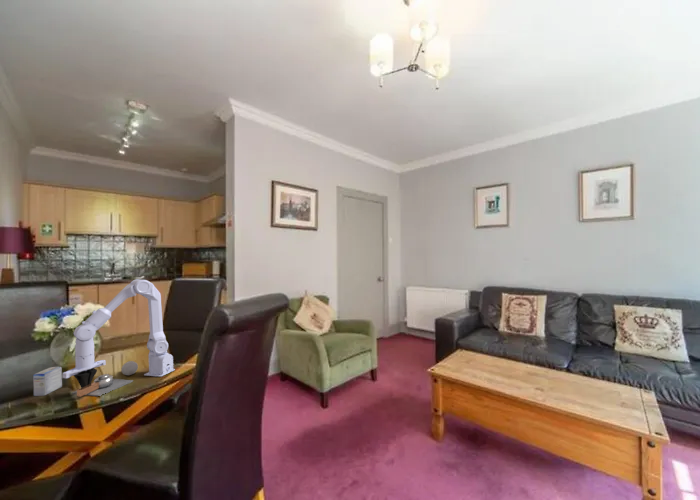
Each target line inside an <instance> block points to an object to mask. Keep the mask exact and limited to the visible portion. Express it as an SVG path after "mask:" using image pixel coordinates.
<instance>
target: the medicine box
mask: <svg viewBox="0 0 700 500" xmlns="http://www.w3.org/2000/svg"><path fill="white" fill-rule="evenodd" d="M32 377H33V396H35V397H39V396H40V397H41V396H42V397H43V396H47V395H48V394H50V393H53V392H54V391H56V390H58V389H60V388H62V387H63V371H62V367H61V366H50V367H48V368H45V369H43V370H41V371H38V372H36V373H34V374H33V375H32Z"/></svg>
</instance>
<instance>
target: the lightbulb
mask: <svg viewBox="0 0 700 500" xmlns="http://www.w3.org/2000/svg"><path fill="white" fill-rule="evenodd" d="M138 369H139V365H138V363H137V362H136V361H133V360H130V361H127V362H125V363H124V364H123V365H122V366H121V373H122V374H123V375H124V376H132V375H134V374H135V373H136V372H137V370H138Z"/></svg>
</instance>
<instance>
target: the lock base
mask: <svg viewBox="0 0 700 500" xmlns="http://www.w3.org/2000/svg"><path fill="white" fill-rule="evenodd" d="M133 382H134V380H133V379H132V380H131V379H130V380H129V379H123V378H122V379H121V378H113V384H111V385H109V386H107V387H103V388H98V389H96V390H94V391H92V392H90V393H87V394H85V395H84V396H90V397H98V396H100V397H101V395H102V394H104V395H106V394H108V393H110V391H111V392H112V390H113V391H115V390H117V389H119V388H122V387H123V386H126V385H129V384H131V383H133ZM105 393H106V394H105ZM71 394H72V395H77V390H75V391H72V392H71ZM102 396H103V395H102Z"/></svg>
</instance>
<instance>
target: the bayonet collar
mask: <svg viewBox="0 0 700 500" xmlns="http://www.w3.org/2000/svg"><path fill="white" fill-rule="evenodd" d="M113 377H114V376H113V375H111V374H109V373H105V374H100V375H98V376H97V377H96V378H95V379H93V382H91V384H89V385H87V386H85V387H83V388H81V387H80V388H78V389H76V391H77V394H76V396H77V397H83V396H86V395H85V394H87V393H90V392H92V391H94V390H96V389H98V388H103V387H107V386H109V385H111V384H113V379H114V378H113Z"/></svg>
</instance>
